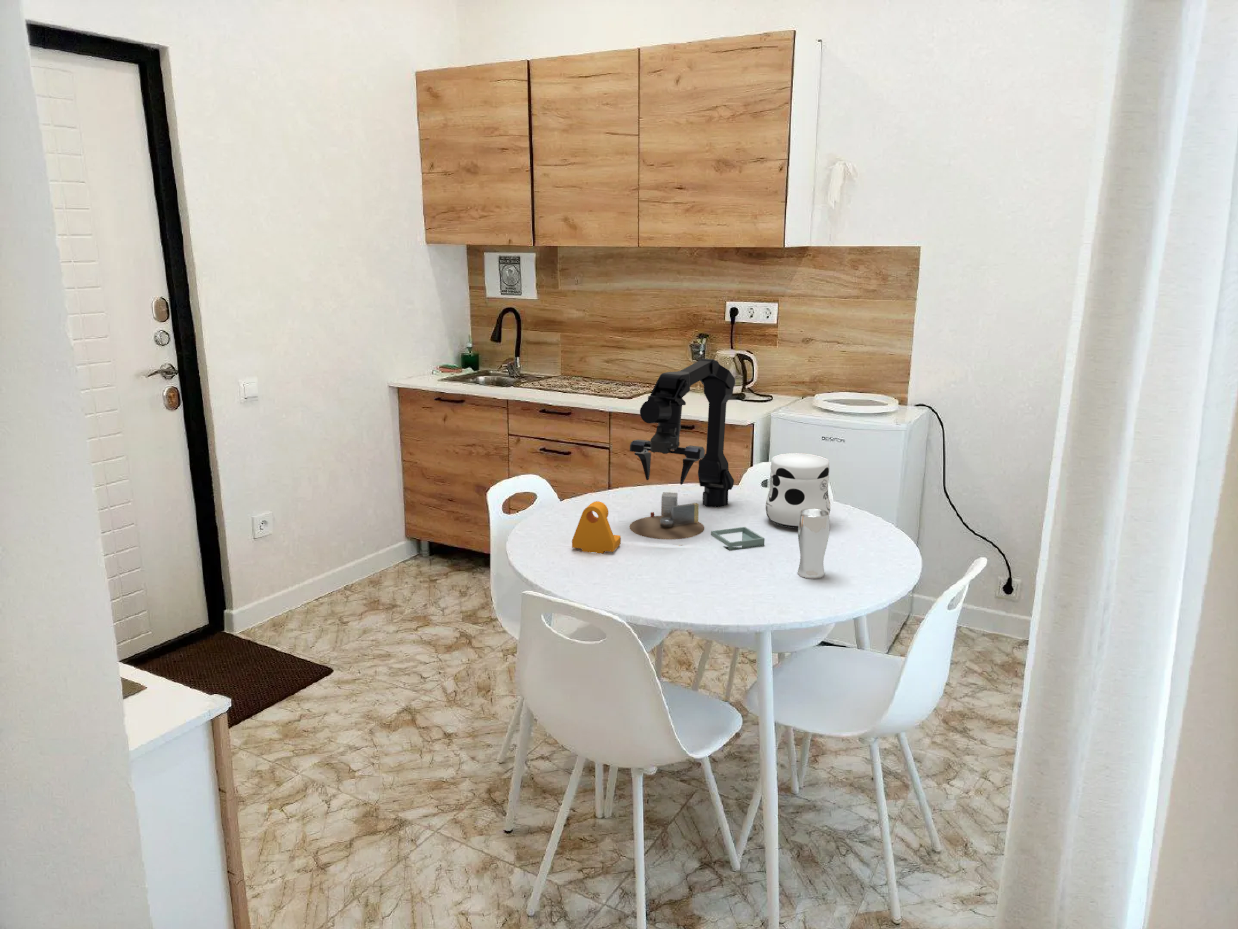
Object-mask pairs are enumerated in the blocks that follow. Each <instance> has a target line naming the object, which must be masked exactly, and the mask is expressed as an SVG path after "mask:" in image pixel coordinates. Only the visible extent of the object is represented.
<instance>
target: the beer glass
mask: <svg viewBox="0 0 1238 929" xmlns="http://www.w3.org/2000/svg"><path fill="white" fill-rule="evenodd" d="M797 537H798V538H797V539H798V548H799V557H800V558H799V560H800V561H799V565H798V570H797V574H798V576H799V577H802V578H804V577H805V579H808V578H809V580H817V579H818V578H819V579H822V578H824V577H825V574H826V573H825V565H824V560H825V554H826V549H827V546H828V542H829V539H830V538H829V537H830V514H829V512H828V511H825V510H822V509H816V508H808V509H803V510H801V511H800V517H799V524H798V528H797ZM821 577H822V578H821Z"/></svg>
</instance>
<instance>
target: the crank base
mask: <svg viewBox="0 0 1238 929" xmlns="http://www.w3.org/2000/svg"><path fill="white" fill-rule="evenodd" d="M660 519H661V515H655V513H654V512H653V511H651V512H650V516H647V517H641V518H638V519H635V520H633V521H632V522H631V523H630V524H629V530H630V531H631V532H632V533H633V534H635V535H638V536H640V537H644V538H648V539H654V540H655V539H656V540H667V541H668V540H671V541H672V540H682V539H689V538H693V537H696V536H699V535H700V534H702V533H703V532H704V531H705V526H704V524H703V523H702V522H700V521H698V522H696V523H687V524H679V525H674V526H673V527H662V526H660Z"/></svg>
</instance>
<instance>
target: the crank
mask: <svg viewBox="0 0 1238 929" xmlns="http://www.w3.org/2000/svg"><path fill="white" fill-rule="evenodd" d="M699 508H700V505H699V503H697V502H693V503H687V504H679V505H678V504H677V505H676V506H671V518H668V517H665V518H661V519H660V526H662V527H673V526H674V525H679V524H687V523H696V522H699Z"/></svg>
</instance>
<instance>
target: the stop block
mask: <svg viewBox="0 0 1238 929" xmlns="http://www.w3.org/2000/svg"><path fill="white" fill-rule="evenodd" d="M678 495H679V493H678V492H667V491H666V492H665V491H664V492H662V494H661V515H660V516H661V518H665V517H668V518H671V506H676V505H678V499H679V498H678Z"/></svg>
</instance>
